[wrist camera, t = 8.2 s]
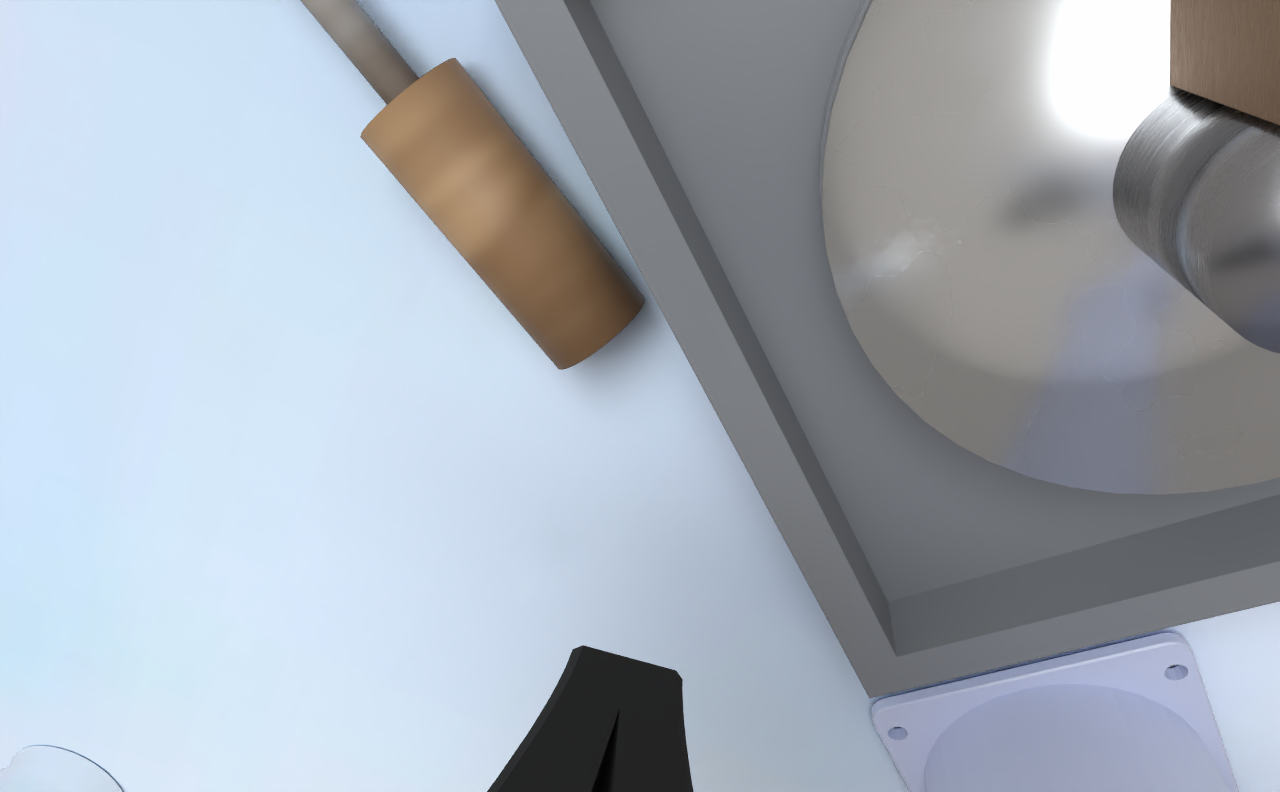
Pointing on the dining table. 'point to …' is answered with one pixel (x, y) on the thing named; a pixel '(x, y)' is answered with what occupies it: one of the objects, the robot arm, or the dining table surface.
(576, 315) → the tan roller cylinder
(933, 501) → the tray
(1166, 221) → the dial
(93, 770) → the cup with straw
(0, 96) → the dining table surface
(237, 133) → the dining table surface
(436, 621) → the dining table surface
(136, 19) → the dining table surface
